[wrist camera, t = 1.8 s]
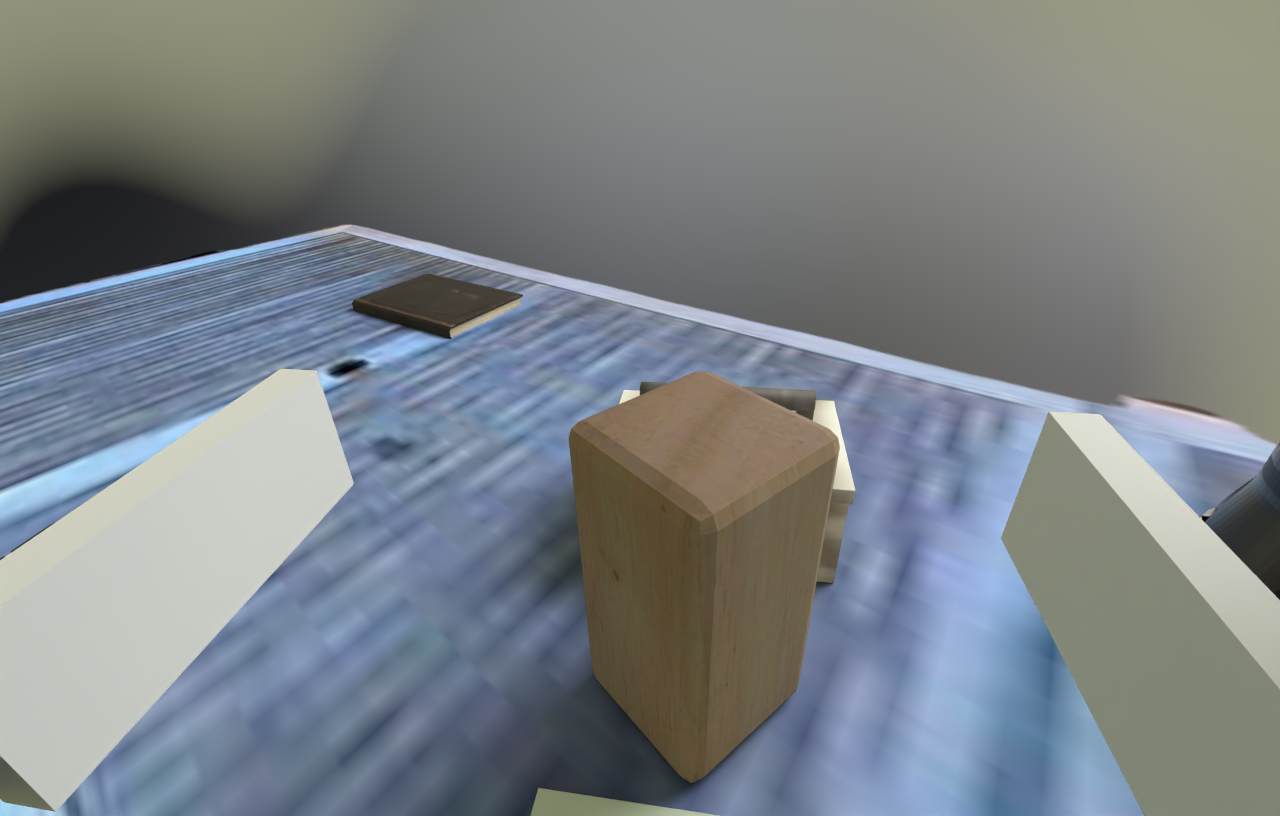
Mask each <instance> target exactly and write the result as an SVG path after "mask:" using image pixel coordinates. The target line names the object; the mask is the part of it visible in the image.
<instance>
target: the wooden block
mask: <svg viewBox="0 0 1280 816" xmlns="http://www.w3.org/2000/svg"><path fill="white" fill-rule="evenodd" d="M569 446H570V455H571V465H572V475H573V485H574V495H575V504H576V514H577V524H578V534H579V544H580V553H581V563H582V573H583V583H584V592H585V602H586V612H587V622H588V632H589V641H590V651H591V661H592V668H593V672H594V676H595V678H596V679H597V680H598V681H599V682H600V683H601V685H602V686H603V687H604V688H605V689H606V690H607V692H608V693H609V694H610V695H611V696H612V697H613V699H614V700H615V701H616V702H617V703H618V704H619V706H620V707H621V708H622V709H623V710H624V711H625V713H626V714H627V715H628V716H629V717H630V718H631V720H632V721H633V722H634V723H635V724H636V725H637V727H638V728H639V729H640V730H641V731H642V732H643V733H644V735H645V736H646V737H647V738H648V739H649V740H650V742H651V743H652V744H653V745H654V746H655V747H656V749H657V750H658V751H659V752H660V753H661V754H662V756H663V757H664V758H665V759H666V760H667V761H668V763H669V764H670V765H671V766H672V767H673V768H674V770H675V771H676V772H677V773H678V774H679V775H680V776H681V777H682V778H683V779H685V780H687V781H688V782H690V783H694V782H696V781H698V780H700V779H702V778H703V777H705V776H706V775H707V774H708V773H709V772H710V771H711V770H712V769H713V768H714V767H715V766H716V765H718V764H719V763H720V762H721V761H722V760H723V759H724V758H725V757H726V756H727V755H728V754H729V753H730V752H731V751H732V750H734V749H735V748H736V747H737V746H738V745H739V744H740V743H741V742H742V741H743V740H744V739H745V738H746V737H747V736H748V735H750V734H751V733H752V732H753V731H754V730H755V729H756V728H757V727H758V726H759V725H760V724H761V723H762V722H763V721H764V720H766V719H767V718H768V717H769V716H770V715H771V714H772V713H773V712H774V711H775V710H776V709H777V708H778V707H779V706H780V705H781V704H783V703H784V702H785V701H786V700H787V699H788V698H789V697H790V696H791V695H792V694H793V693H794V692H795V691H796V689H797V686H798V683H799V679H800V673H801V667H802V661H803V656H804V650H805V644H806V639H807V633H808V627H809V621H810V616H811V610H812V604H813V599H814V593H815V587H816V581H817V576H818V570H819V564H820V559H821V553H822V547H823V541H824V536H825V530H826V524H827V519H828V513H829V507H830V501H831V496H832V490H833V484H834V479H835V473H836V467H837V461H838V456H839V450H840V445H839V440H838V437H837V436H836V435H835V434H834V433H833V432H832V431H831V430H830V429H829V428H827V427H824V426H822V425H820V424H818V423H816V422H814V421H812V420H810V419H808V418H806V417H803V416H801V415H799V414H797V413H795V412H793V411H791V410H789V409H787V408H785V407H782V406H780V405H778V404H776V403H774V402H772V401H770V400H768V399H766V398H764V397H761V396H759V395H757V394H755V393H753V392H751V391H749V390H747V389H745V388H743V387H740V386H738V385H736V384H734V383H732V382H730V381H728V380H726V379H724V378H722V377H719V376H717V375H715V374H713V373H709V372H694V373H691V374H689V375H687V376H684V377H682V378H680V379H677V380H675V381H673V382H670V383H668V384H665V385H663V386H661V387H658V388H656V389H654V390H651V391H649V392H647V393H644V394H642V395H640V396H637V397H635V398H633V399H630V400H628V401H626V402H623V403H621V404H619V405H616V406H614V407H612V408H609V409H607V410H605V411H602V412H600V413H598V414H595V415H593V416H591V417H588V418H586V419H584V420H581V421H579V422H578V423H577V424H576V425H575V426H574V427H573V428H572V429H571V432H570V435H569Z"/></svg>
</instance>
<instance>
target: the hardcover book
mask: <svg viewBox="0 0 1280 816" xmlns="http://www.w3.org/2000/svg"><path fill="white" fill-rule="evenodd" d="M521 297H523V295H522V294H517V293H513V292H508V291H504V290H499V289H495V288H491V287H486V286H482V285H477V284H473V283H468V282H464V281H459V280H455V279H450V278H446V277H442V276H437V275H433V274H425V275H422V276H420V277H417V278H414V279H411V280H408V281H405V282H403V283H400V284H397V285H394V286H391V287H388V288H385V289H383V290H380V291H377V292H374V293H371V294H368V295H366V296H363V297H360V298H357V299H355V300H354V301H353V303H352V305H353V309H354V311H357V312H360V313H364V314H367V315H371V316H374V317H377V318H381V319H384V320H388V321H391V322H395V323H398V324H401V325H405V326H408V327H412V328H415V329H418V330H422V331H425V332H429V333H432V334H436V335H439V336H442V337H446V338H449V339H451V337H454V336H456V335H458V334H460V333H462V332H464V331H466V330H469V329H471V328H473V327H475V326H477V325H479V324H481V323H483V322H486V321H488V320H490V319H492V318H494V317H496V316H498V315H500V314H503V313H505V312H507V311H509V310H511V309H513V308H515V307H517V306H520V305H521V302H520V298H521Z"/></svg>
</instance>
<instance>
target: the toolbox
mask: <svg viewBox="0 0 1280 816" xmlns="http://www.w3.org/2000/svg"><path fill="white" fill-rule="evenodd" d="M665 384H668V383H656V382H641V385H640V391H633V390H624V392H623V395H622V398H621V400H620V403H619V404H621V403H623V402H626V401H628V400H630V399H633V398H635V397H637V396H640V395H642V394H644V393H647V392H649V391H651V390H654V389H656V388H658V387H661V386H663V385H665ZM743 388H745V389H747V390H749V391H751V392H753V393H755V394H757V395H759V396H761V397H764V398H766V399H768V400H770V401H772V402H774V403H776V404H778V405H780V406H782V407H785V408H787V409H789V410H791V411H793V412H795V413H797V414H799V415H801V416H803V417H806V418H808V419H810V420H812V421H814V422H816V423H818V424H820V425H822V426H824V427H827V428H829V429H830V430H831V431H832V432H833V433H834V434H835V435H836V436H837V437H838V440H839V445H840V450H839V456H838V461H837V467H836V473H835V479H834V484H833V490H832V496H831V501H830V507H829V513H828V519H827V524H826V530H825V536H824V541H823V547H822V553H821V559H820V564H819V570H818V576H817V582H827V583H834V577H835V572H836V567H837V562H838V557H839V552H840V547H841V542H842V536H843V531H844V526H845V521H846V516H847V511H848V506H849V504H853V500H854V495H855V488H854V483H853V479H852V475H851V471H850V467H849V463H848V459H847V454H846V450H845V446H844V442H843V438H842V434H841V429H840V425H839V421H838V417H837V413H836V409H835V405H834V401H821V400H816V392H815V391H812V390H793V389H773V388H754V387H743Z"/></svg>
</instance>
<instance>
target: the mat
mask: <svg viewBox="0 0 1280 816" xmlns="http://www.w3.org/2000/svg"><path fill="white" fill-rule="evenodd" d="M531 816H718V815H712V814H705V813H699V812H692V811H686V810H679V809H673V808H666V807H660V806H653V805H646V804H640V803H633V802H627V801H620V800H614V799H607V798H601V797H594V796H588V795H581V794H575V793H568V792H562V791H555V790H549V789H542V788H538V791H537V795H536V799H535V802H534V806H533V809H532V813H531Z"/></svg>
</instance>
